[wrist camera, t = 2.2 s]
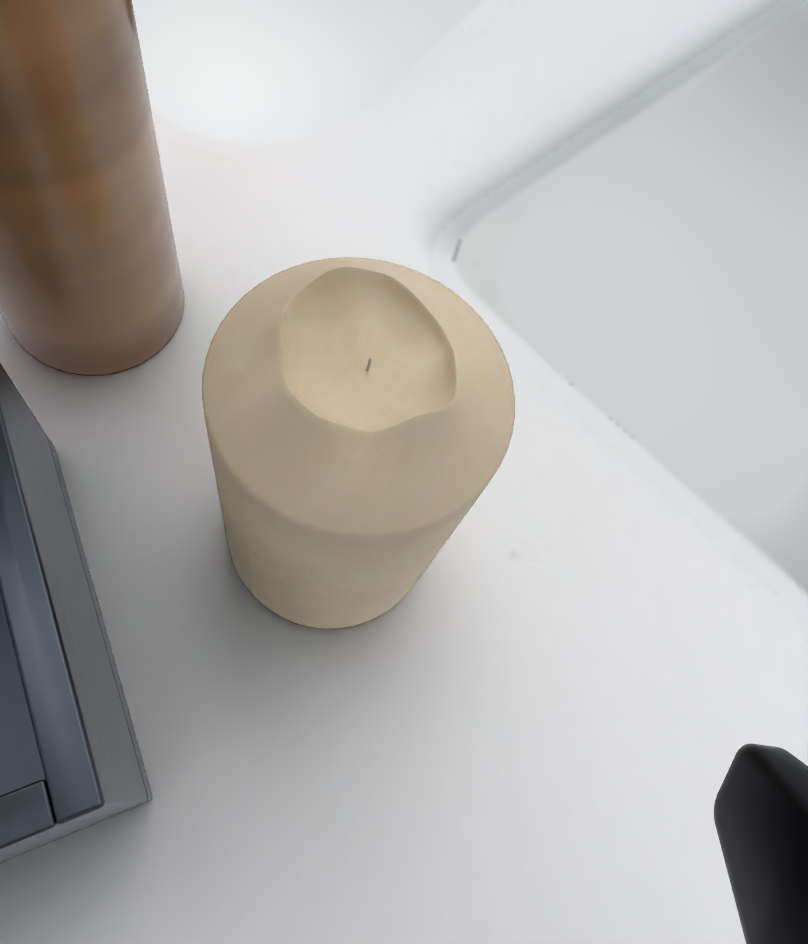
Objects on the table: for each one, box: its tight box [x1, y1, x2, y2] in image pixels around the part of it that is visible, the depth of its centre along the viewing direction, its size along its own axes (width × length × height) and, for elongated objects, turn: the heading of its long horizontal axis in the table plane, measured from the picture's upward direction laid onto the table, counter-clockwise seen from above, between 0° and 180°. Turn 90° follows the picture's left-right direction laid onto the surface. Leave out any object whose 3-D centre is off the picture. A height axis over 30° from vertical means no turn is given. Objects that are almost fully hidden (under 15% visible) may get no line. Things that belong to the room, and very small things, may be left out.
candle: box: [202, 257, 515, 629], centre depth 17 cm, size 6×6×10 cm
